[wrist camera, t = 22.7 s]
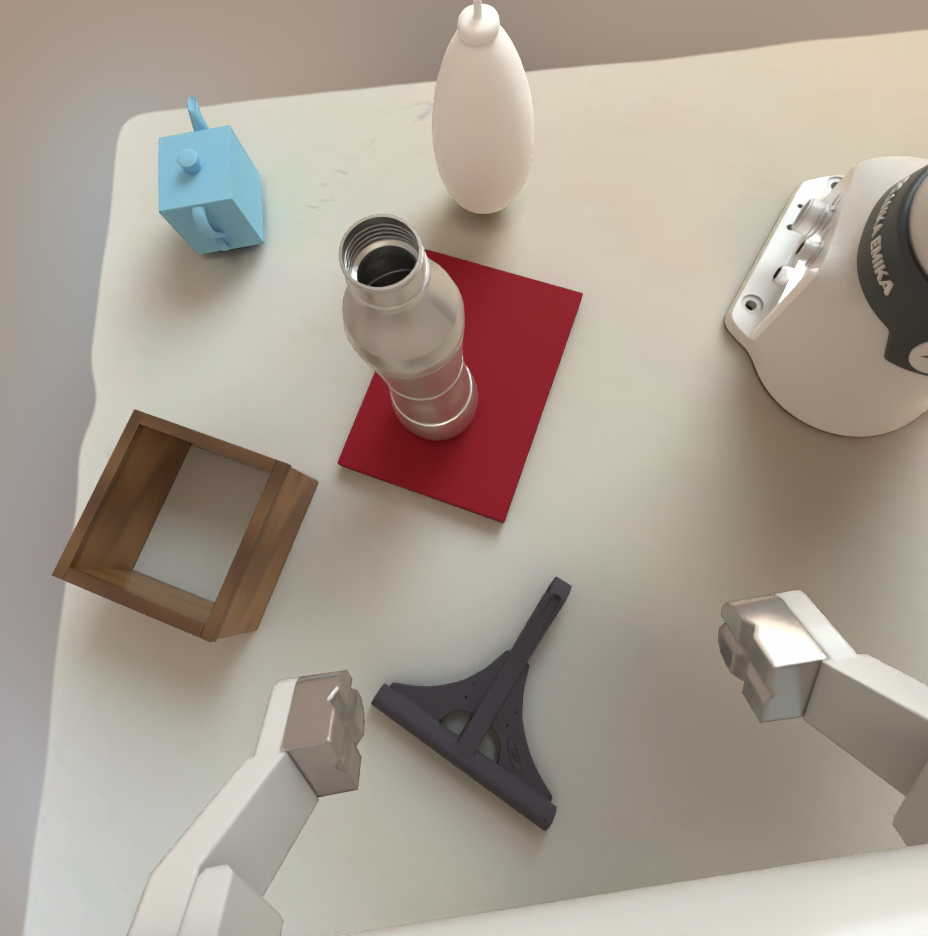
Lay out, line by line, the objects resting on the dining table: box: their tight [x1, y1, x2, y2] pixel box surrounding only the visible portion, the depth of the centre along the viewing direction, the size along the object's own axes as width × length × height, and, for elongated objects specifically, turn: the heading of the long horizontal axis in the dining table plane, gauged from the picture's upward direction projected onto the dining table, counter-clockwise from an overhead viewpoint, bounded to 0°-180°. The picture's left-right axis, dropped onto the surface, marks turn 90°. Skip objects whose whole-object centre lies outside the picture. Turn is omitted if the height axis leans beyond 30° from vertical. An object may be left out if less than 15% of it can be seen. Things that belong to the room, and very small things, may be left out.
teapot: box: [158, 96, 264, 254], centre depth 44 cm, size 12×6×8 cm, turn 8°
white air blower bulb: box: [432, 0, 534, 214], centre depth 37 cm, size 8×8×18 cm
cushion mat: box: [338, 250, 583, 523], centre depth 42 cm, size 20×14×1 cm
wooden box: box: [52, 409, 318, 642], centre depth 38 cm, size 13×13×6 cm
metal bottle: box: [339, 214, 478, 440], centre depth 31 cm, size 6×7×20 cm
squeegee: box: [371, 577, 572, 831], centre depth 36 cm, size 14×15×3 cm
